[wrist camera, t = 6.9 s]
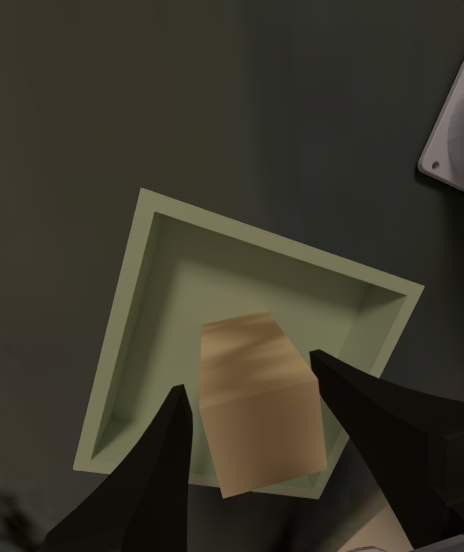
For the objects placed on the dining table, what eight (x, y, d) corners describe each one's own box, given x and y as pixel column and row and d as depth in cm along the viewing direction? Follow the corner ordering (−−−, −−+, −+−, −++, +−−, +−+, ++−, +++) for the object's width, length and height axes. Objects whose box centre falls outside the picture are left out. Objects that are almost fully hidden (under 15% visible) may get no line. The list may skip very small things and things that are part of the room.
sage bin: (378, 273, 16) (424, 286, 13) (298, 450, 19) (318, 499, 16) (157, 197, 13) (141, 187, 10) (100, 418, 16) (72, 469, 13)
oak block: (267, 310, 15) (317, 378, 8) (276, 367, 16) (327, 468, 9) (201, 324, 15) (198, 408, 8) (215, 382, 16) (223, 498, 9)
